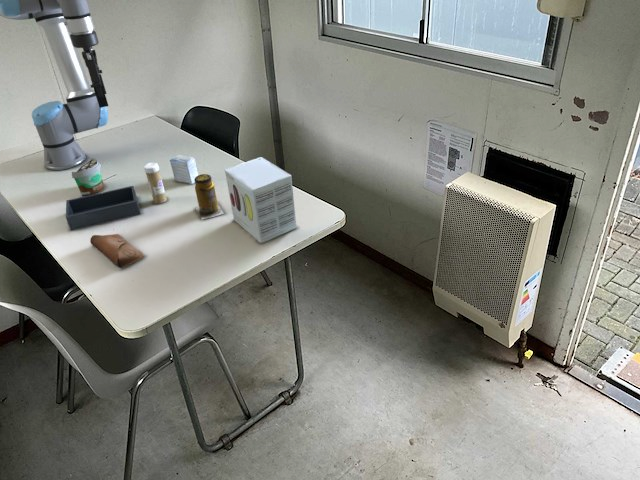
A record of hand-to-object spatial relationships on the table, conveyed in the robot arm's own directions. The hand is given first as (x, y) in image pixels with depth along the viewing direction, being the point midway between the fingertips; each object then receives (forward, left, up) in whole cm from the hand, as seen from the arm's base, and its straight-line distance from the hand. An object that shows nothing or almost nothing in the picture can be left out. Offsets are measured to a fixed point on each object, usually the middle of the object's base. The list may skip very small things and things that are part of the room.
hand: (103, 100), depth 167 cm
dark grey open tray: (+17, -9, -32) cm, 37 cm away
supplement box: (+48, +37, -32) cm, 68 cm away
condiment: (+32, +23, -32) cm, 51 cm away
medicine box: (+6, +20, -32) cm, 38 cm away
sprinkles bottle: (+17, +9, -32) cm, 37 cm away
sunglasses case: (+43, -6, -32) cm, 53 cm away
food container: (-2, -11, -32) cm, 34 cm away
